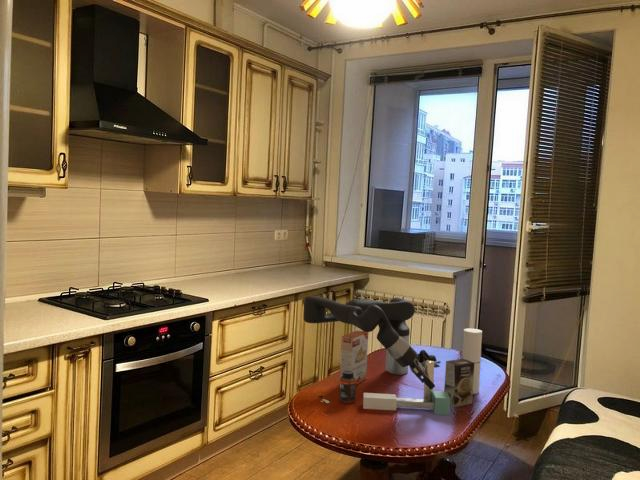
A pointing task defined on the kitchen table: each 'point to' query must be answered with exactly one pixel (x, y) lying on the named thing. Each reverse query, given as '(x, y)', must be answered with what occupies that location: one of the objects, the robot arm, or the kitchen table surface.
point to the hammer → (428, 393)
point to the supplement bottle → (347, 387)
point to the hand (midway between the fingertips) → (431, 383)
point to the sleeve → (379, 401)
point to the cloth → (426, 358)
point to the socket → (441, 402)
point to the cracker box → (354, 354)
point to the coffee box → (459, 381)
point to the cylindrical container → (473, 353)
